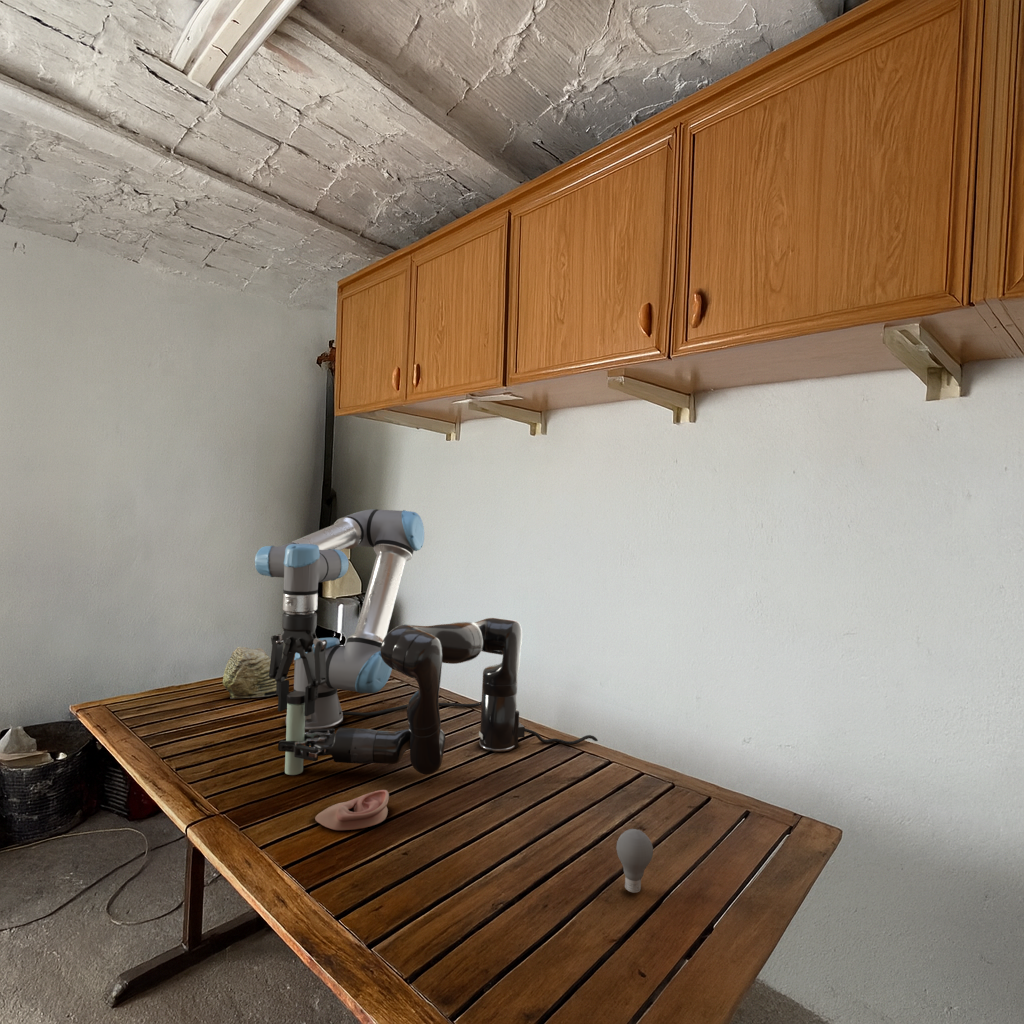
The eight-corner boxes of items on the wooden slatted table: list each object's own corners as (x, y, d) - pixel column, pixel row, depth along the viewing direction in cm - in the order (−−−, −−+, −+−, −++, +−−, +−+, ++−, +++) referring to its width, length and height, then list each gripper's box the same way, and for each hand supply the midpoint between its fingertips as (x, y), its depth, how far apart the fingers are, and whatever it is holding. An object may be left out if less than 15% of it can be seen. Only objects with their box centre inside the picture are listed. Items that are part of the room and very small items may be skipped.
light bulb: (610, 879, 108) (613, 822, 108) (644, 879, 109) (647, 822, 109) (619, 902, 102) (622, 840, 102) (655, 901, 103) (658, 840, 103)
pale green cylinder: (306, 770, 146) (309, 696, 146) (292, 776, 143) (294, 700, 142) (295, 766, 148) (298, 692, 148) (281, 771, 145) (283, 696, 144)
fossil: (218, 695, 195) (220, 647, 195) (278, 685, 208) (279, 640, 207) (228, 703, 189) (230, 653, 188) (289, 692, 201) (290, 645, 201)
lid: (300, 697, 148) (301, 689, 148) (309, 701, 145) (310, 694, 145) (283, 700, 145) (283, 693, 145) (292, 705, 142) (292, 698, 142)
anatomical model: (307, 805, 121) (336, 780, 133) (306, 826, 121) (335, 798, 133) (372, 815, 119) (395, 788, 130) (371, 836, 119) (394, 807, 130)
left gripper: (253, 610, 144) (249, 710, 145) (326, 618, 138) (322, 723, 138) (275, 605, 151) (272, 701, 152) (346, 613, 145) (342, 713, 146)
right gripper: (365, 718, 152) (294, 715, 152) (348, 741, 138) (270, 737, 138) (364, 749, 152) (293, 746, 152) (347, 775, 138) (269, 771, 138)
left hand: (296, 711), depth 145 cm, fingers open, 6 cm apart
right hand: (283, 741), depth 145 cm, fingers closed on pale green cylinder, 4 cm apart
